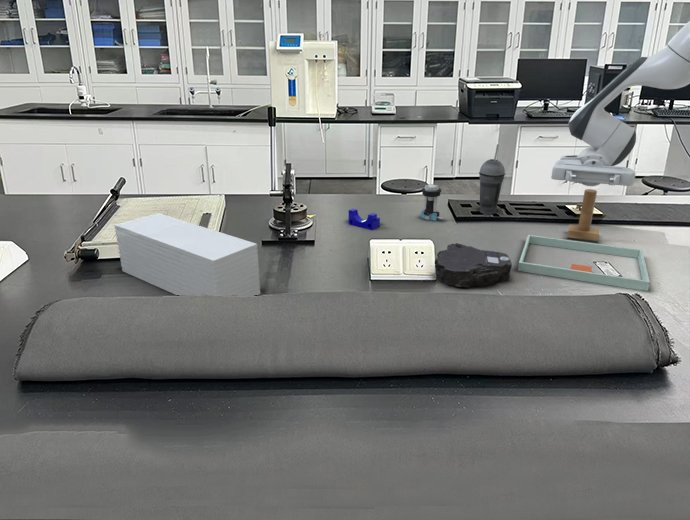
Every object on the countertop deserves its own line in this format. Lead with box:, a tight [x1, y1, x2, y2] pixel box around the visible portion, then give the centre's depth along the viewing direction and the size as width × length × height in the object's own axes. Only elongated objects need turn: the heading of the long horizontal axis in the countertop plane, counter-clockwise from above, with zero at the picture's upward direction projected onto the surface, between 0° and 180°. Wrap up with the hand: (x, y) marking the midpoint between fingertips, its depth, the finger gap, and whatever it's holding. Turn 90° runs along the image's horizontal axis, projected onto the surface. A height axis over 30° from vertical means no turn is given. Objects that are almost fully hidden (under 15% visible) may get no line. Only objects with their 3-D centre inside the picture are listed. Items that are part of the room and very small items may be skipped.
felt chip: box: [570, 263, 593, 273], centre depth 114 cm, size 4×4×1 cm
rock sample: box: [434, 242, 513, 289], centre depth 114 cm, size 18×16×5 cm
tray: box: [517, 234, 651, 292], centre depth 119 cm, size 25×19×3 cm
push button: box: [420, 183, 444, 222], centre depth 147 cm, size 7×5×10 cm
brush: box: [566, 188, 600, 244], centre depth 132 cm, size 7×5×13 cm
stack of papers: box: [113, 212, 261, 296], centre depth 109 cm, size 32×11×11 cm, turn 53°
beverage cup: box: [478, 143, 506, 215], centre depth 153 cm, size 7×7×20 cm
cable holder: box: [348, 208, 381, 231], centre depth 145 cm, size 8×4×4 cm, turn 53°
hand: (592, 180), depth 136 cm, fingers open, 8 cm apart
